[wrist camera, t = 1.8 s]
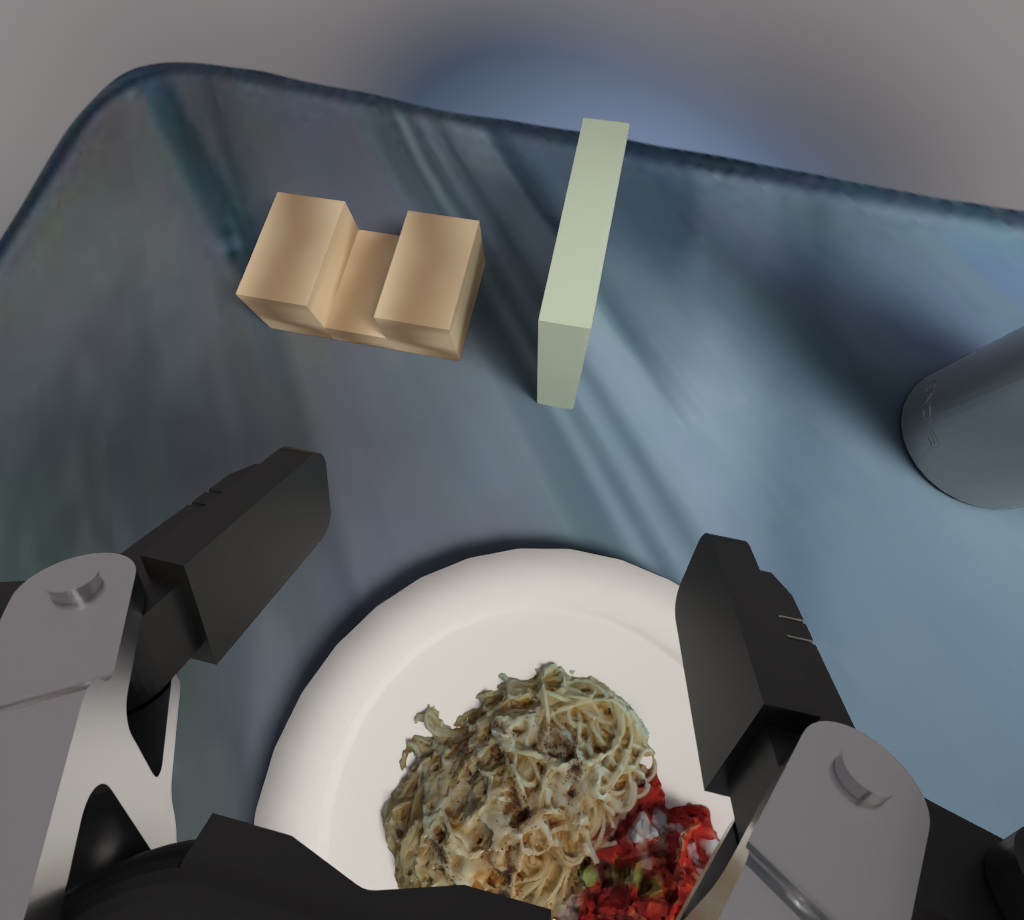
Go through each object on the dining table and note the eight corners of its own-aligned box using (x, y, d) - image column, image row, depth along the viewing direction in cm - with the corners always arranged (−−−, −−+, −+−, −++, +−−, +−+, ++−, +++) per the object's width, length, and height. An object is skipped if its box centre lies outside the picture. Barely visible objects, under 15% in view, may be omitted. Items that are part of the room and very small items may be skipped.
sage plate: (602, 256, 33) (629, 123, 23) (572, 409, 30) (590, 328, 21) (569, 252, 33) (583, 117, 24) (537, 403, 30) (538, 320, 21)
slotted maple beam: (485, 262, 33) (479, 220, 29) (459, 361, 31) (449, 330, 28) (306, 235, 35) (277, 192, 31) (270, 327, 33) (235, 294, 29)
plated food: (280, 572, 29) (247, 570, 25) (765, 528, 28) (795, 521, 25) (249, 1249, 21) (196, 1372, 18) (921, 1213, 20) (996, 1336, 17)
